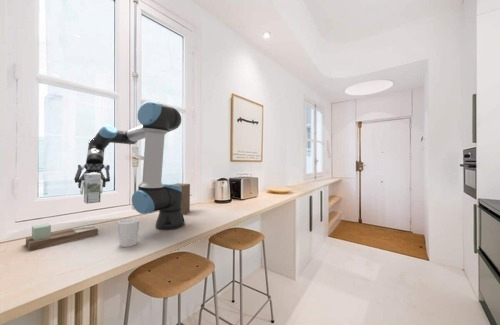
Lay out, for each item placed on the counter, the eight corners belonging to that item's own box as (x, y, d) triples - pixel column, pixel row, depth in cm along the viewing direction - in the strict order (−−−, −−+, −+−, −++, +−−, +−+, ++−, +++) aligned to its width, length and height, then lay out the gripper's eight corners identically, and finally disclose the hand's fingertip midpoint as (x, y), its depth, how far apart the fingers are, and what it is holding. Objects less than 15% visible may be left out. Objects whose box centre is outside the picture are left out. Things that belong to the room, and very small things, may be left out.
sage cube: (50, 237, 90) (50, 225, 90) (34, 240, 86) (34, 228, 86) (48, 234, 93) (48, 223, 93) (31, 237, 89) (31, 226, 89)
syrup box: (97, 200, 109) (97, 172, 109) (100, 202, 105) (101, 173, 105) (83, 202, 105) (83, 173, 104) (86, 204, 101) (86, 173, 100)
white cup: (117, 249, 86) (117, 224, 86) (118, 242, 93) (118, 219, 93) (138, 245, 90) (139, 222, 90) (138, 239, 97) (139, 217, 97)
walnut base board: (98, 234, 102) (98, 228, 102) (29, 250, 83) (29, 243, 83) (90, 230, 108) (90, 224, 108) (25, 244, 89) (25, 237, 89)
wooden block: (182, 215, 140) (182, 185, 139) (169, 214, 142) (169, 184, 141) (189, 211, 149) (190, 183, 149) (177, 211, 151) (177, 183, 151)
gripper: (70, 153, 108) (63, 188, 94) (116, 154, 118) (115, 186, 105) (72, 163, 112) (65, 198, 99) (116, 163, 123) (115, 195, 109)
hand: (91, 192), depth 102 cm, fingers closed on syrup box, 7 cm apart
